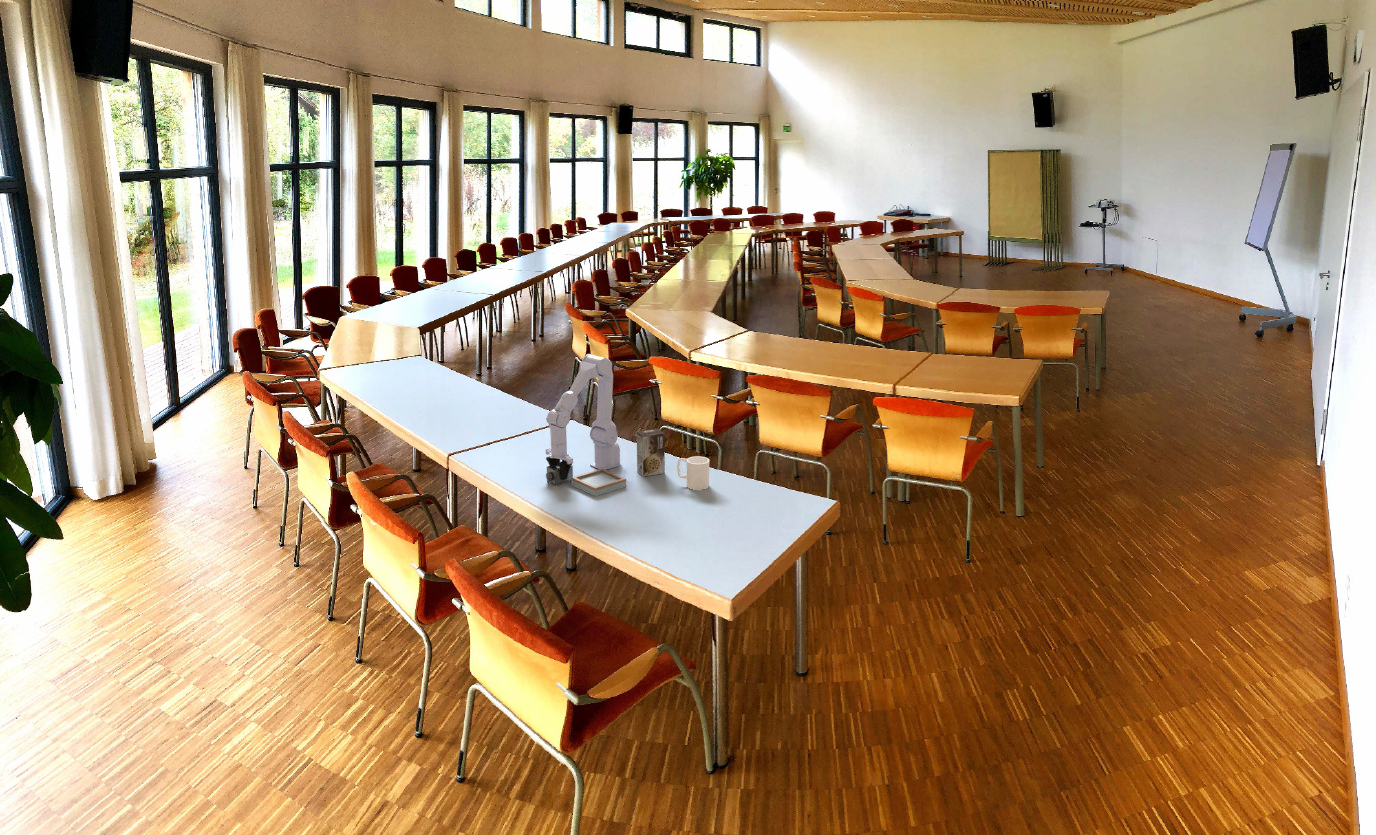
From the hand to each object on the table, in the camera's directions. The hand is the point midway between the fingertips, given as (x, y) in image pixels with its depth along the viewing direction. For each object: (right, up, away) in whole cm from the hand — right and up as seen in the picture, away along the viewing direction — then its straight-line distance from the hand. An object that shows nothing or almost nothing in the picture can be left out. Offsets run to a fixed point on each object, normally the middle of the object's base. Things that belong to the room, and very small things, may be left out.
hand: (559, 477), depth 323 cm
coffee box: (+33, +1, +10) cm, 34 cm away
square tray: (+15, -3, -3) cm, 15 cm away
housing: (0, -2, +1) cm, 2 cm away
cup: (+49, -3, -2) cm, 49 cm away
